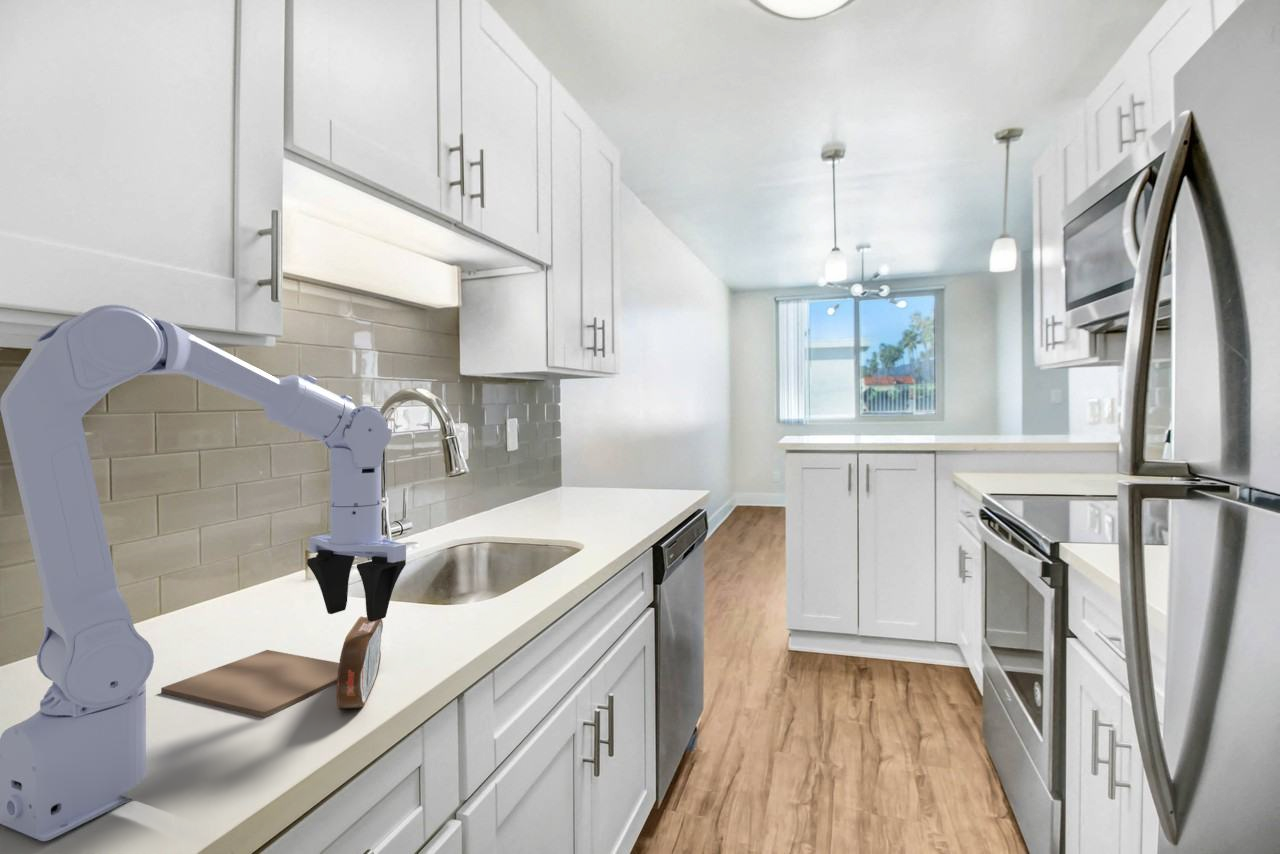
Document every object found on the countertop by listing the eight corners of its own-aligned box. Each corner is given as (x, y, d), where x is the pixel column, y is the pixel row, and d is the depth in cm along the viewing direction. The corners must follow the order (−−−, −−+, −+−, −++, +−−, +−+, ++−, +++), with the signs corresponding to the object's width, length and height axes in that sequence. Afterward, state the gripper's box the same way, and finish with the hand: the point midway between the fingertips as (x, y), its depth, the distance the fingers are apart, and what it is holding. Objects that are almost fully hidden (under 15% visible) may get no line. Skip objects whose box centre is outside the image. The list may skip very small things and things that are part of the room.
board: (265, 717, 70) (265, 712, 70) (161, 692, 76) (161, 687, 76) (363, 671, 83) (363, 667, 83) (267, 653, 89) (267, 649, 89)
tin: (360, 671, 83) (360, 608, 83) (385, 669, 84) (385, 606, 84) (333, 723, 68) (333, 646, 68) (364, 720, 69) (363, 644, 69)
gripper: (425, 503, 77) (425, 614, 77) (343, 498, 83) (343, 600, 83) (378, 510, 70) (378, 630, 70) (293, 504, 77) (294, 614, 77)
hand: (356, 615), depth 76 cm, fingers open, 6 cm apart
